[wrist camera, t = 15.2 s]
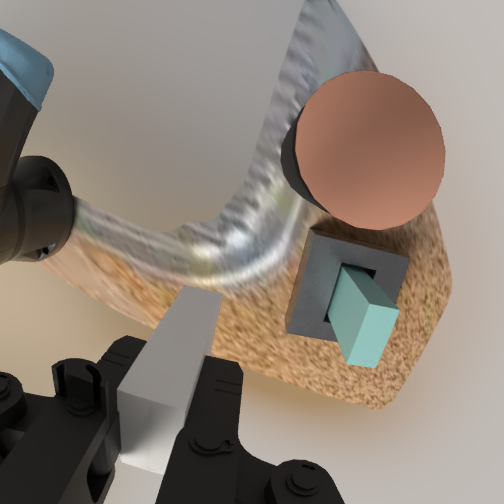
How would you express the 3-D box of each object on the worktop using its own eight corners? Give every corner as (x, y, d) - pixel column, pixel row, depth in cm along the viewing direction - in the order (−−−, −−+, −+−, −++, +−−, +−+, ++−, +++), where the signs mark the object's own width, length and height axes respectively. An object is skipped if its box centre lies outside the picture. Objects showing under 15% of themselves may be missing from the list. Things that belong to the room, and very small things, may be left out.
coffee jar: (383, 149, 35) (467, 137, 18) (337, 221, 38) (395, 261, 20) (310, 97, 34) (348, 40, 17) (262, 171, 37) (261, 170, 19)
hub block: (284, 318, 41) (286, 332, 37) (309, 228, 38) (314, 234, 34) (368, 333, 41) (377, 347, 37) (397, 250, 38) (410, 258, 34)
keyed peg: (337, 259, 39) (369, 303, 25) (359, 265, 39) (399, 310, 25) (323, 304, 40) (346, 363, 27) (345, 308, 40) (375, 367, 27)
